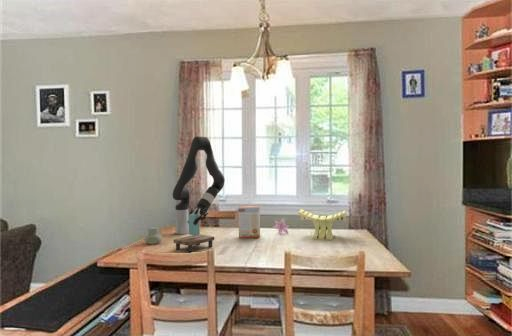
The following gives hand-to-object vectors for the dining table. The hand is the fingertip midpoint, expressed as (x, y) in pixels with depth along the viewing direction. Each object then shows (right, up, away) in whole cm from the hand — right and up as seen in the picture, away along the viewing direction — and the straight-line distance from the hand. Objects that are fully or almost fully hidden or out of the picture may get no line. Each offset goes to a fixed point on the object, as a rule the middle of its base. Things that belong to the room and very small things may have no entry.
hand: (191, 223), depth 242 cm
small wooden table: (+1, -15, +2) cm, 15 cm away
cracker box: (+34, -14, +32) cm, 49 cm away
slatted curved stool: (+83, -13, +30) cm, 90 cm away
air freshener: (-27, -15, +16) cm, 35 cm away
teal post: (+1, -7, +2) cm, 7 cm away
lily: (+56, -13, +44) cm, 72 cm away
